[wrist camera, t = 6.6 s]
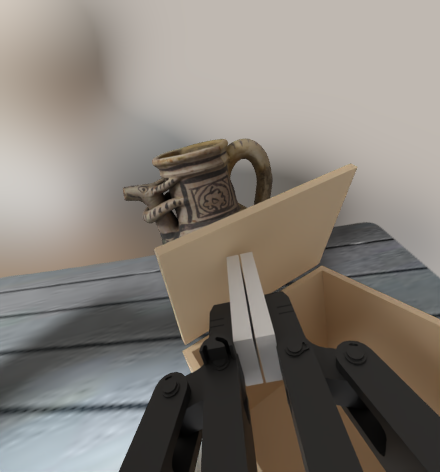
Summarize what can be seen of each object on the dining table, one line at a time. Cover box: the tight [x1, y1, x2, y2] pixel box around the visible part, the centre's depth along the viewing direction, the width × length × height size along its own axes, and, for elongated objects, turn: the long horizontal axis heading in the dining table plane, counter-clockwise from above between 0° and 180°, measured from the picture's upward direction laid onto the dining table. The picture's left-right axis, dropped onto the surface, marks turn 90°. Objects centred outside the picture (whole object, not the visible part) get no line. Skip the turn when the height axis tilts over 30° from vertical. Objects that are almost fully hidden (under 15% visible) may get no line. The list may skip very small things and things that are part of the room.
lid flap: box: [154, 164, 357, 345], centre depth 19 cm, size 15×11×1 cm
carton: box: [182, 266, 440, 472], centre depth 20 cm, size 16×14×12 cm
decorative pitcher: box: [123, 139, 272, 245], centre depth 40 cm, size 22×18×25 cm
